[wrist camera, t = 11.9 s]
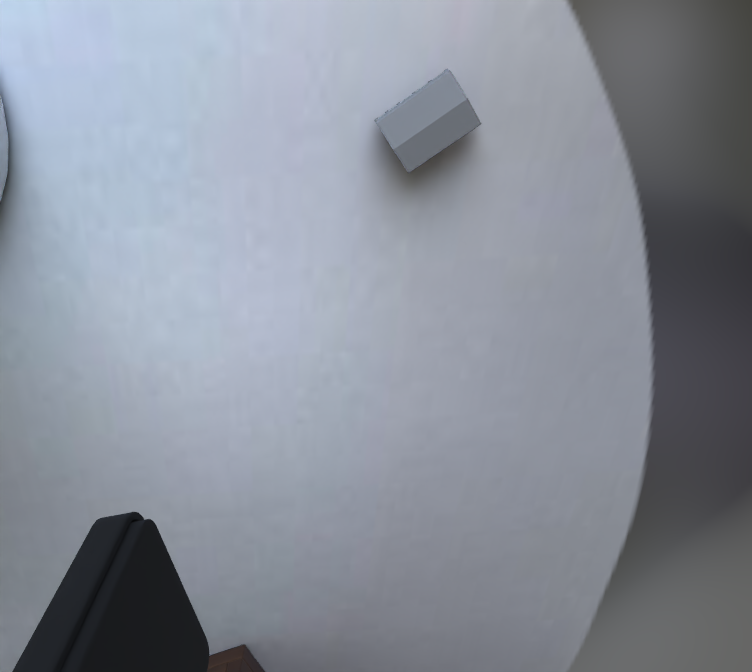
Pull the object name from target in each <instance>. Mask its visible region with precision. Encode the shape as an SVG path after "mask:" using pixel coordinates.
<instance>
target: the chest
mask: <svg viewBox="0 0 752 672" xmlns="http://www.w3.org/2000/svg"><path fill="white" fill-rule="evenodd" d="M207 672H264V670H263V669H262V668H261V666H260V665H259V663H258V662H257V661H256V659H255V658H254V657H253V655H252V654H251V652H250V651H249V650H248V648H247V647H246V646H245V645H241V646H238V647H235V648H232V649H229V650H226V651H223V652H220V653H217V654H214V655H211V656H209V664H208V669H207Z"/></svg>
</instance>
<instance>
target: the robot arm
mask: <svg viewBox="0 0 752 672" xmlns="http://www.w3.org/2000/svg"><path fill="white" fill-rule="evenodd" d="M7 173H8V132H7V126H6V120H5V114H4V108H3V102H2V98H1V95H0V203H1V198H2V194H3V190H4V186H5V182H6V177H7ZM208 664H209V647H208V642H207V639H206V636H205V634H204V632H203V630H202V627H201V625H200V623H199V621H198V618H197V616H196V614H195V612H194V609H193V607H192V605H191V603H190V600H189V598H188V596H187V594H186V591H185V589H184V587H183V585H182V582H181V580H180V578H179V576H178V573H177V571H176V569H175V567H174V564H173V562H172V560H171V558H170V555H169V553H168V551H167V549H166V546H165V544H164V542H163V540H162V538H161V535H160V533H159V531H158V529H157V526H156V525H155V523H154V522H153V521H152V520H151V519H146V520H144V518H143V517H142V515H140V514H139V513H137V512H131V513H126V514H120V515H115V516H109V517H104V518H100V519H98V520H96V522H95V523H94V524H93V526H92V528H91V529H90V531H89V533H88V535H87V537H86V538H85V540H84V542H83V544H82V546H81V548H80V549H79V551H78V553H77V555H76V557H75V559H74V560H73V562H72V564H71V566H70V568H69V569H68V571H67V573H66V575H65V577H64V579H63V580H62V582H61V584H60V586H59V588H58V590H57V591H56V593H55V595H54V597H53V599H52V601H51V602H50V604H49V606H48V608H47V610H46V611H45V613H44V615H43V617H42V619H41V621H40V622H39V624H38V626H37V628H36V630H35V632H34V633H33V635H32V637H31V639H30V641H29V642H28V644H27V646H26V648H25V650H24V652H23V653H22V655H21V657H20V659H19V661H18V663H17V664H16V666H15V668H14V670H13V672H207V669H208Z"/></svg>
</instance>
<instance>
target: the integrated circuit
mask: <svg viewBox="0 0 752 672" xmlns="http://www.w3.org/2000/svg"><path fill="white" fill-rule="evenodd" d="M375 122H376V123H377V125H378V127H379V128H380V130H381V131H382V133H383V135H384V136H385V138H386V139H387V141H388V143H389V144H390V146H391V147H392V149H393V150H394V152H395V153H396V155H397V157H398V158H399V160H400V161H401V163H402V164H403V166H404V167H405V169H406V170H407V172H408V173H410V172H411V171H413V170H414V169H416V168H417V167H419V166H420V165H422V164H423V163H424V162H426V161H427V160H429V159H430V158H432V157H433V156H435V155H436V154H438V153H439V152H441V151H442V150H444V149H445V148H447V147H448V146H450V145H451V144H453V143H454V142H456V141H457V140H458V139H460V138H461V137H463V136H464V135H466V134H467V133H469V132H470V131H472V130H473V129H475V128H476V127H478V126H479V125H481V122H480V121H479V119H478V117H477V115H476V113H475V111H474V109H473V108H472V106H471V104H470V102H469V100H468V98H467V97H466V95H465V93H464V92H463V90H462V89H461V87H460V85H459V84H458V82H457V80H456V79H455V77H454V75H453V74H452V72H451V71H450V70H448V69H446V70H445V71H444V72H443V73H442V74H440V75H439V76H438V77H436V78H435V79H433V80H430V81H429V82H428V84H426V85H425V86H423V87H422V88H421V89H419V90H418V91H416V92H414V93H412V95H411V96H409V97H408V98H407V99H405V100H404V101H402V102H401V103H400V102H399V103H398V104H397V106H395V107H394V108H392V109H391V110H390V111H387V112H385V114H384V115H382V116H381V117H380V118H377V119H375Z"/></svg>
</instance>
